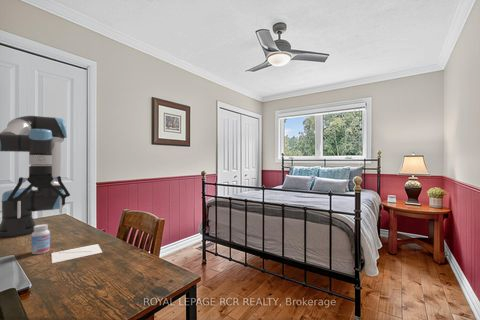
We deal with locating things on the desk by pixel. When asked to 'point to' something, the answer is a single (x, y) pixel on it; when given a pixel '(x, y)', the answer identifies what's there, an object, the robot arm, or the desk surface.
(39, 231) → the pill bottle
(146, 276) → the desk surface
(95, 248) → the paper
